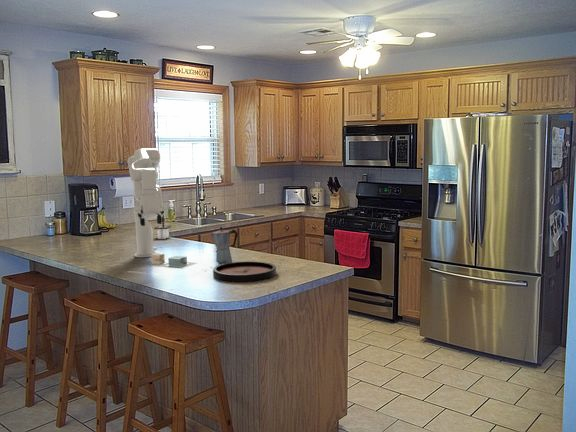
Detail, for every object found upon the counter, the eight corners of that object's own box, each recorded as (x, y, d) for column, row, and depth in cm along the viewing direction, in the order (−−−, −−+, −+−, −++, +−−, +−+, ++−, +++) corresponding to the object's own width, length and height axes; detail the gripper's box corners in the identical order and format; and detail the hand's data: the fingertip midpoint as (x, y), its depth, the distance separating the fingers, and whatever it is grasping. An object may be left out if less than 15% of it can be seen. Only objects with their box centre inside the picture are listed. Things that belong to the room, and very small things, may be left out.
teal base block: (176, 262, 307) (175, 255, 306) (187, 263, 304) (186, 256, 304) (168, 265, 301) (168, 258, 300) (179, 266, 298) (179, 259, 297)
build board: (173, 262, 313) (173, 260, 312) (198, 264, 306) (198, 262, 306) (157, 268, 299) (157, 266, 299) (182, 270, 292) (182, 268, 292)
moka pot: (209, 262, 312) (207, 226, 310) (235, 259, 318) (234, 224, 315) (213, 265, 304) (211, 229, 301) (240, 262, 309) (239, 227, 306)
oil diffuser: (175, 241, 386) (174, 217, 384) (141, 241, 387) (140, 217, 385) (184, 235, 412) (183, 212, 409) (152, 235, 413) (150, 213, 411)
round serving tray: (241, 278, 257) (200, 268, 279) (242, 286, 258) (200, 276, 279) (288, 266, 280) (246, 258, 301) (289, 274, 280) (247, 266, 302)
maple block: (157, 263, 311) (156, 253, 310) (164, 264, 309) (164, 253, 308) (151, 265, 307) (151, 254, 306) (159, 266, 305) (158, 255, 304)
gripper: (160, 191, 303) (162, 222, 305) (131, 193, 291) (132, 225, 293) (167, 191, 297) (169, 223, 299) (137, 193, 286) (139, 227, 288)
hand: (151, 224), depth 296 cm, fingers open, 9 cm apart
